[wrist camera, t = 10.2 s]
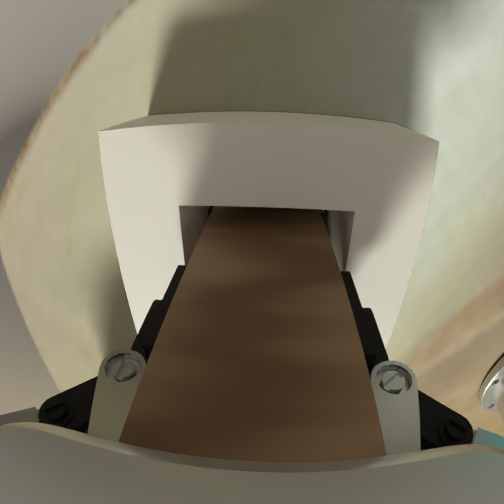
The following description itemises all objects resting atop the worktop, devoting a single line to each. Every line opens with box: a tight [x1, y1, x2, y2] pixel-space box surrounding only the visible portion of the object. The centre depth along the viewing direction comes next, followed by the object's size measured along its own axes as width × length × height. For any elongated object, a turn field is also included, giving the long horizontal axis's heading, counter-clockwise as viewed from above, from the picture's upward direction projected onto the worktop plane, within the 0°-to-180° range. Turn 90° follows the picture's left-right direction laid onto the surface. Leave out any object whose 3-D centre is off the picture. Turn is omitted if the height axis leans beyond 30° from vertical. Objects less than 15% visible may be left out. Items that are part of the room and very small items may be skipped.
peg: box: [119, 206, 387, 462], centre depth 10 cm, size 4×4×12 cm
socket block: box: [98, 111, 439, 349], centre depth 15 cm, size 12×12×5 cm
